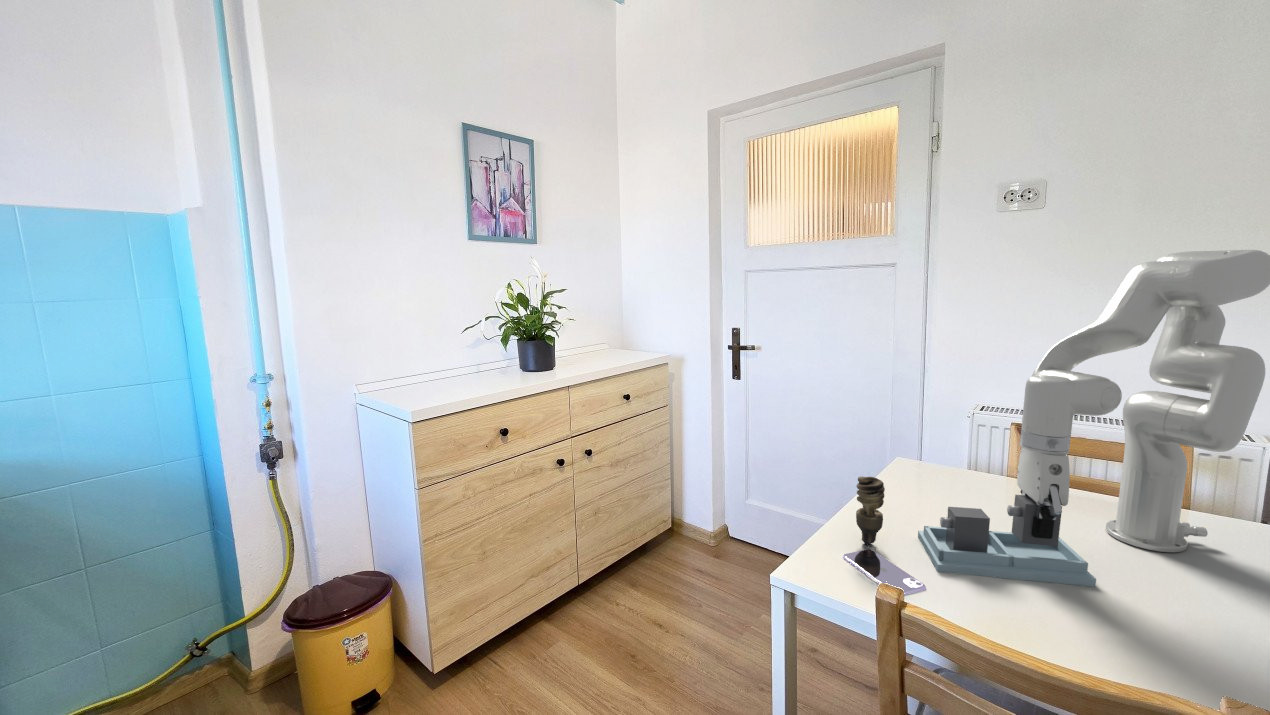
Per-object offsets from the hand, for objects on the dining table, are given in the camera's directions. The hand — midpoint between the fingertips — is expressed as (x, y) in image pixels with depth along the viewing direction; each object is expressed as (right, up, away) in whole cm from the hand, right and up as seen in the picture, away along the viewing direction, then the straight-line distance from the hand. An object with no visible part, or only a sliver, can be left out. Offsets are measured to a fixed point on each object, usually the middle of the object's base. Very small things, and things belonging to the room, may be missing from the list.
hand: (1035, 530), depth 105 cm
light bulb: (-28, -6, +10) cm, 31 cm away
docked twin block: (-12, -5, +4) cm, 14 cm away
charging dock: (-5, -7, +2) cm, 9 cm away
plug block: (0, -2, 0) cm, 2 cm away
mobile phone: (-30, -8, -1) cm, 31 cm away
